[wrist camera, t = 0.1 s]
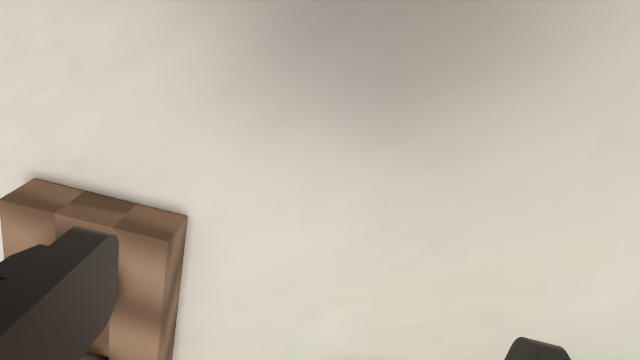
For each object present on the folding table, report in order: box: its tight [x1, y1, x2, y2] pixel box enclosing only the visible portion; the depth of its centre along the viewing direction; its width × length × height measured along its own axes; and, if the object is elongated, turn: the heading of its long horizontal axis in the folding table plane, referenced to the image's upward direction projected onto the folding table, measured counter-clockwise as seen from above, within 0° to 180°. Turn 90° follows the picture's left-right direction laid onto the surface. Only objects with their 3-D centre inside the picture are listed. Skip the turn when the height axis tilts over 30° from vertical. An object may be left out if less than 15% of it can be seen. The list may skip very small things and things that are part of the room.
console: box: [0, 179, 187, 360], centre depth 32 cm, size 24×10×3 cm, turn 167°
